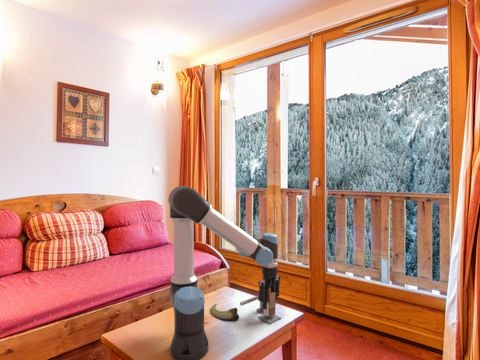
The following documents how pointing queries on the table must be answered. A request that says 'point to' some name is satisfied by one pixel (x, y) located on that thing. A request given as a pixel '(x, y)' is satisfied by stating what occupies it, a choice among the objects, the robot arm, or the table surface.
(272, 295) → the tan brick
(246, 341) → the table surface
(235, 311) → the claw
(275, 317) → the mat
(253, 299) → the grey lever handle
